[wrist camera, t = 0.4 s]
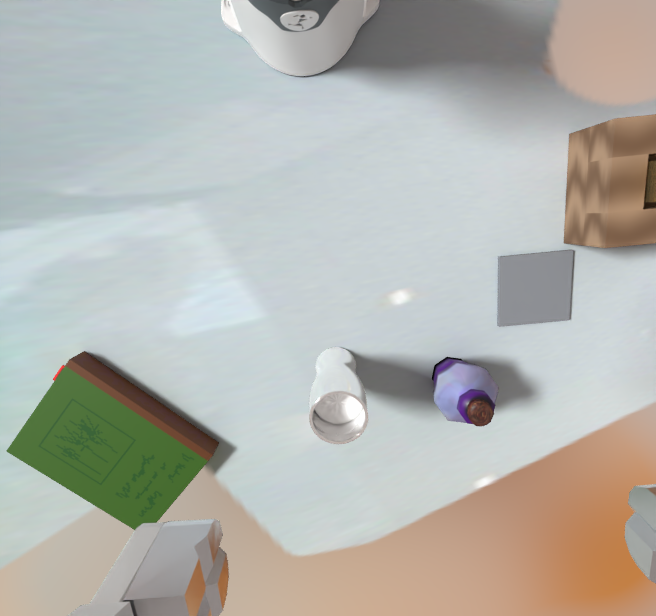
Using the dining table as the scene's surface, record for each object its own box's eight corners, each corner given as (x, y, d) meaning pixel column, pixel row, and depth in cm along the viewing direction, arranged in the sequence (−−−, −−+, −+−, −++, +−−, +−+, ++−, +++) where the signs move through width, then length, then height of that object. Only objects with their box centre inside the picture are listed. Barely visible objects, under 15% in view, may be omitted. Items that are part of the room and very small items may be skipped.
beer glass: (348, 336, 55) (356, 380, 41) (365, 377, 57) (379, 433, 42) (305, 354, 56) (297, 403, 41) (323, 393, 57) (322, 454, 43)
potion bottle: (483, 393, 58) (522, 438, 46) (427, 405, 58) (452, 453, 46) (474, 340, 56) (513, 374, 44) (416, 354, 56) (439, 391, 44)
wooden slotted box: (569, 134, 49) (615, 118, 41) (679, 122, 49) (746, 105, 41) (563, 243, 52) (605, 248, 44) (666, 233, 52) (726, 236, 44)
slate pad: (498, 256, 53) (500, 257, 52) (570, 249, 52) (573, 250, 52) (497, 325, 55) (499, 326, 54) (566, 318, 55) (569, 320, 54)
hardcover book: (219, 440, 60) (212, 455, 56) (155, 517, 63) (144, 536, 60) (82, 346, 56) (64, 356, 53) (21, 434, 60) (1, 448, 56)
